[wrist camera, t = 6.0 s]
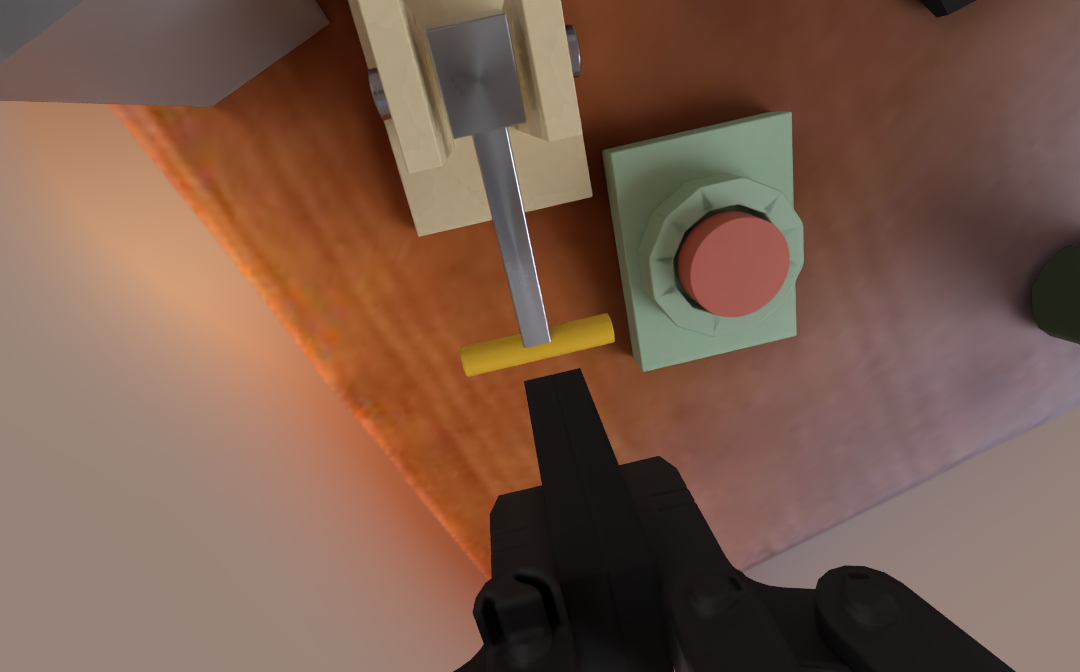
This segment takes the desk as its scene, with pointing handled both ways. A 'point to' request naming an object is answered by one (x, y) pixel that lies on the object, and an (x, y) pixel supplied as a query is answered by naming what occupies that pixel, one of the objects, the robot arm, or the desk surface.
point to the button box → (676, 208)
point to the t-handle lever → (501, 183)
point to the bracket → (451, 164)
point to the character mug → (1059, 296)
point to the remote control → (945, 6)
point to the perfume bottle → (145, 48)
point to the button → (733, 263)
